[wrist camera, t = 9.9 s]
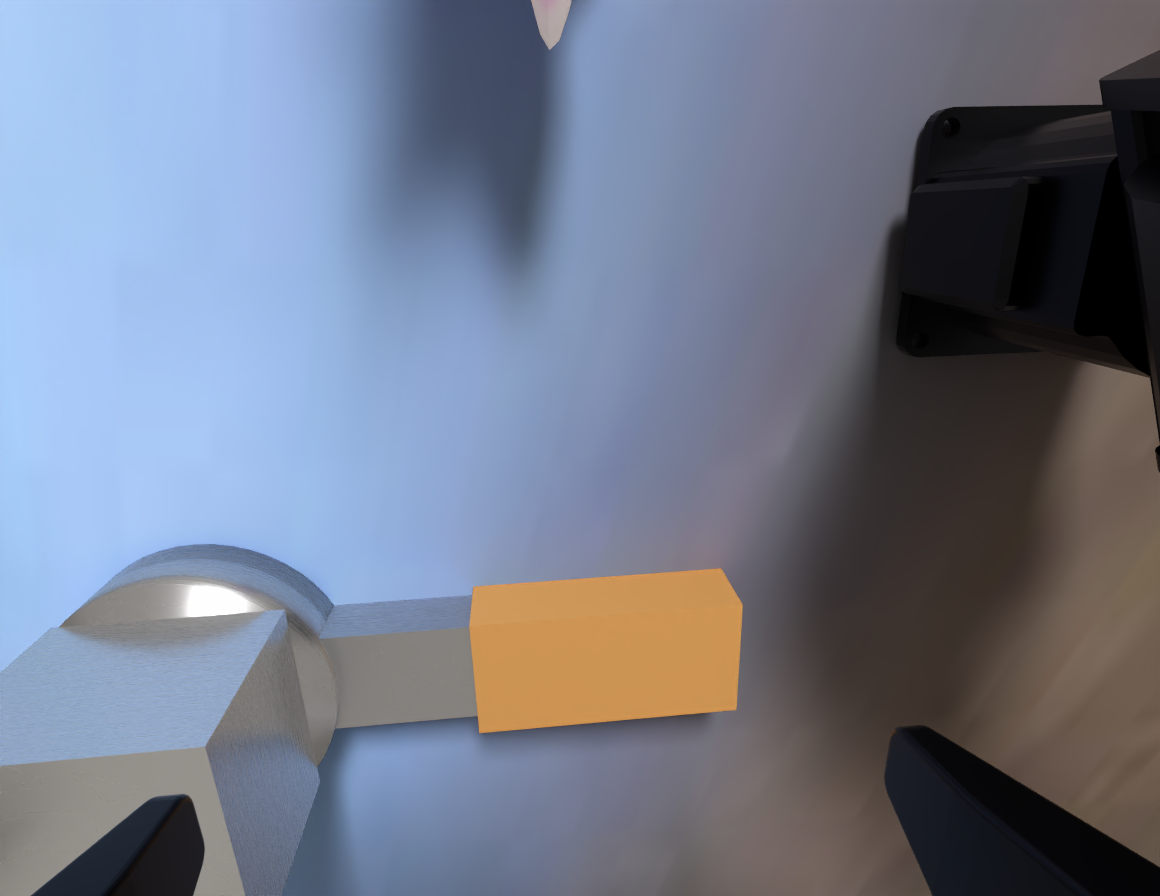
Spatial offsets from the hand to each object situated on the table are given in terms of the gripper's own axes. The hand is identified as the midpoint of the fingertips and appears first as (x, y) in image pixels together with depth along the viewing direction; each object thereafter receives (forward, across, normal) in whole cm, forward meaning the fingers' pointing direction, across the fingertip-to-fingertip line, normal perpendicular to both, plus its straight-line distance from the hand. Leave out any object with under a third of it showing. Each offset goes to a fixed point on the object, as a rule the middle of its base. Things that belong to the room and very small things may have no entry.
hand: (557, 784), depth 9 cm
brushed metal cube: (+10, +10, +6) cm, 15 cm away
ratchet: (+12, +4, +6) cm, 14 cm away
